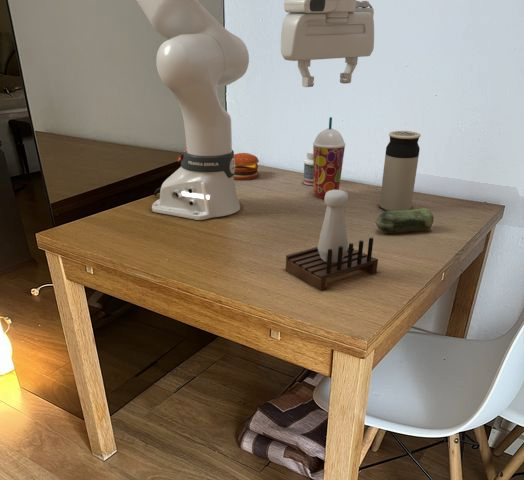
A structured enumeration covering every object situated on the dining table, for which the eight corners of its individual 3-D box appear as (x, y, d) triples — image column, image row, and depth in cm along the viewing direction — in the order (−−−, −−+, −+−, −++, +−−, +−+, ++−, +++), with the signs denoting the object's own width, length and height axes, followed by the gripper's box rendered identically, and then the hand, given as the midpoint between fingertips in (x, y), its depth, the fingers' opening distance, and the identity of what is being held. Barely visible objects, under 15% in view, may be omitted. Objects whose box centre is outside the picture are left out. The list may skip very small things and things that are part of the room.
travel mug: (405, 214, 136) (416, 138, 126) (375, 209, 139) (383, 134, 129) (414, 205, 141) (425, 132, 132) (385, 200, 145) (394, 129, 135)
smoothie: (320, 189, 154) (324, 113, 143) (346, 194, 150) (353, 116, 139) (304, 196, 148) (308, 118, 137) (331, 202, 144) (337, 121, 133)
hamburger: (226, 180, 162) (225, 157, 159) (230, 172, 170) (229, 149, 167) (257, 180, 161) (257, 157, 158) (260, 172, 169) (260, 150, 166)
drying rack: (285, 270, 107) (286, 234, 103) (339, 254, 114) (342, 220, 110) (320, 290, 100) (323, 253, 96) (376, 273, 106) (381, 236, 102)
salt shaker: (345, 265, 102) (351, 197, 95) (315, 263, 103) (319, 195, 96) (347, 254, 107) (353, 187, 100) (318, 251, 108) (322, 186, 101)
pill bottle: (316, 186, 156) (317, 154, 151) (300, 184, 158) (301, 152, 154) (324, 182, 160) (326, 151, 155) (308, 179, 162) (310, 148, 157)
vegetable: (425, 225, 129) (428, 204, 126) (435, 232, 125) (439, 211, 122) (369, 229, 127) (372, 208, 124) (378, 237, 122) (380, 215, 120)
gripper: (362, 0, 106) (356, 79, 113) (276, 0, 96) (275, 86, 103) (385, 0, 101) (377, 82, 109) (297, 0, 92) (295, 90, 99)
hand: (326, 84), depth 106 cm, fingers open, 8 cm apart
